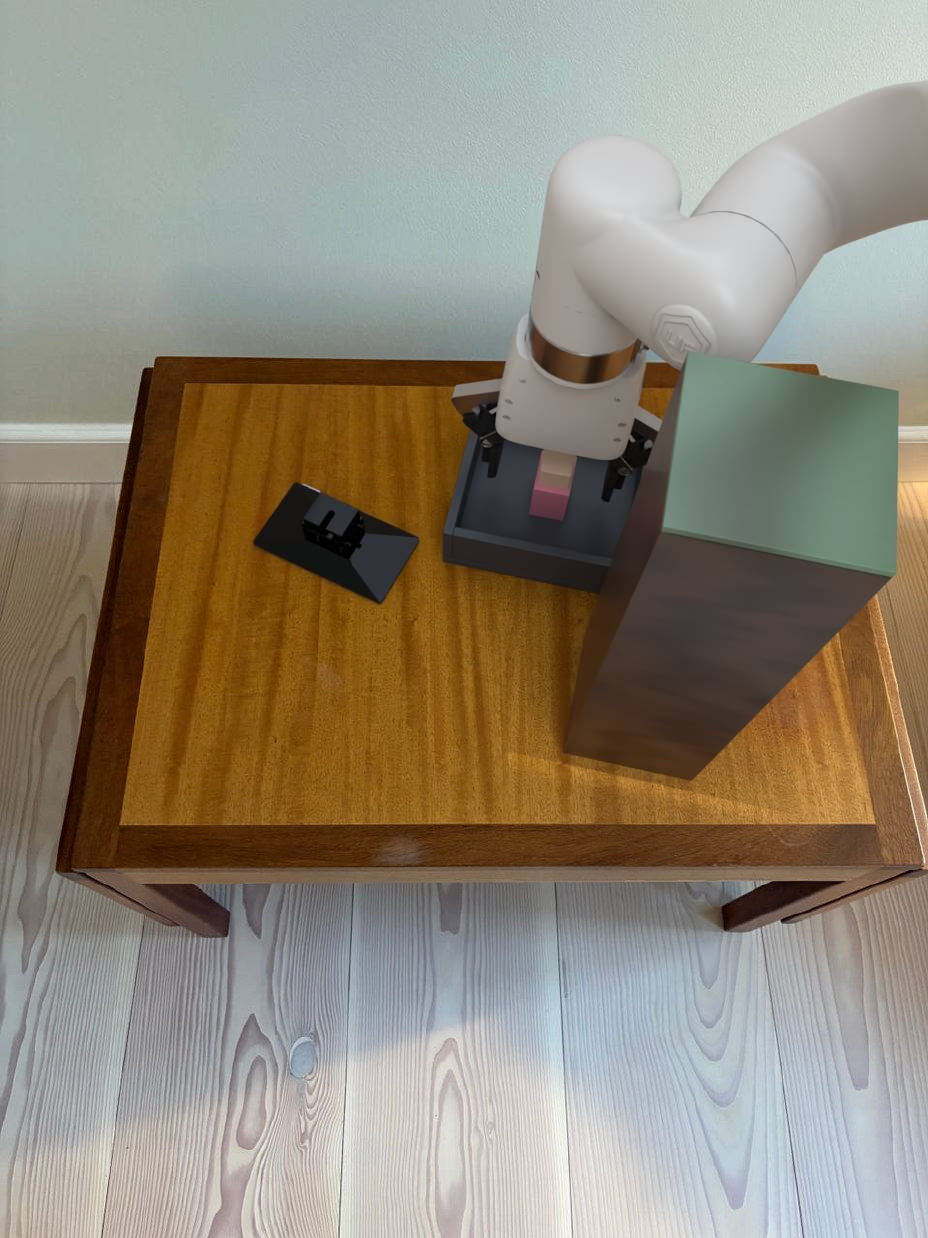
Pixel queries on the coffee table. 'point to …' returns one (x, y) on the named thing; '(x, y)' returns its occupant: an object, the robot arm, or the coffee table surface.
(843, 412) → the stand
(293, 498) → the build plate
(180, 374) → the coffee table surface
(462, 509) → the basin
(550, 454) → the pink block
